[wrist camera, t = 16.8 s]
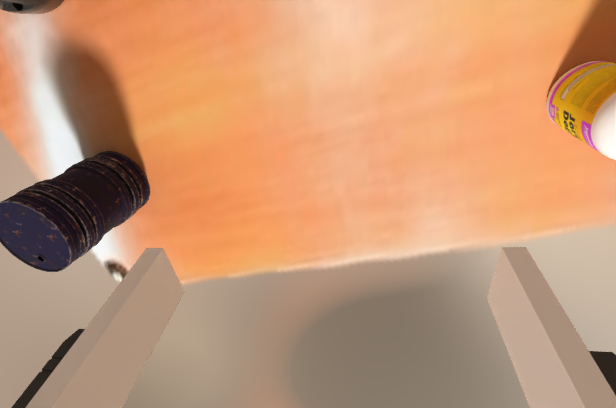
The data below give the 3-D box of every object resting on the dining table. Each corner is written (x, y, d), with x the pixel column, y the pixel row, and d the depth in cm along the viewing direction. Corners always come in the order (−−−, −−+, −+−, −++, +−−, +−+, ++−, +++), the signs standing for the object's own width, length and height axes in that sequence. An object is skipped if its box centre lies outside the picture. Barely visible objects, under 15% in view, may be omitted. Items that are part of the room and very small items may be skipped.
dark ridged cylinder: (80, 147, 48) (-29, 196, 35) (141, 152, 46) (50, 204, 33) (101, 206, 53) (13, 267, 40) (157, 212, 51) (83, 278, 38)
